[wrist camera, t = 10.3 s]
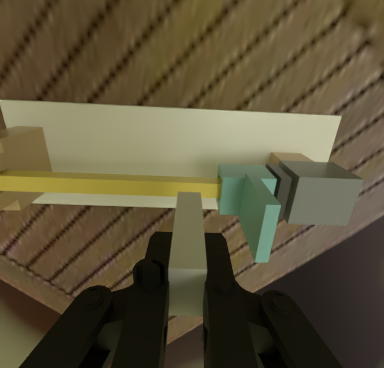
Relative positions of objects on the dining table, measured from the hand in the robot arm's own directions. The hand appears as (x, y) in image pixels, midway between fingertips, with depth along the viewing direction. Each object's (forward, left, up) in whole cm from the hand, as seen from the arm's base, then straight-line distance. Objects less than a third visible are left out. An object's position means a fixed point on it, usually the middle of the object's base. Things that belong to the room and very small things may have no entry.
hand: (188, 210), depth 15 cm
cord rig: (+2, -2, -17) cm, 17 cm away
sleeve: (+2, +6, -10) cm, 12 cm away
